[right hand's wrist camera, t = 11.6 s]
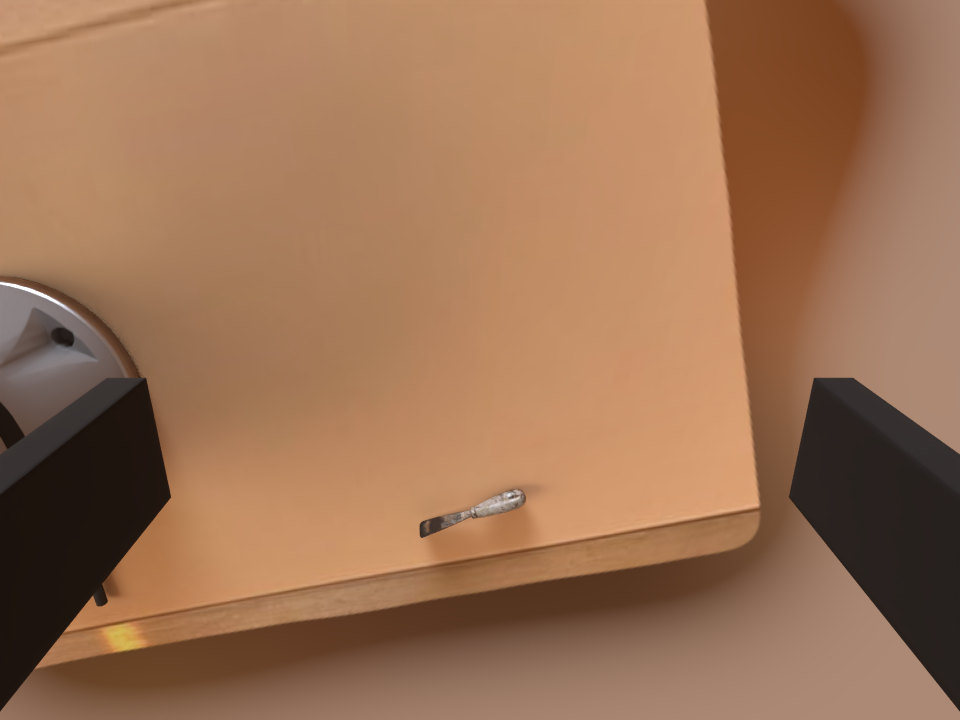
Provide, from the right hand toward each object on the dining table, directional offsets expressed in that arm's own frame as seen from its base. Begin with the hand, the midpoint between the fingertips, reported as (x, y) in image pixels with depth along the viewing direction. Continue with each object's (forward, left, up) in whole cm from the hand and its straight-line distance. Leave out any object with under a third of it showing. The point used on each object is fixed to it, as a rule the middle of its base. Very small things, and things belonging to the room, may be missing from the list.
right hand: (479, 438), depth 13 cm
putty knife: (-20, -1, -28) cm, 34 cm away
